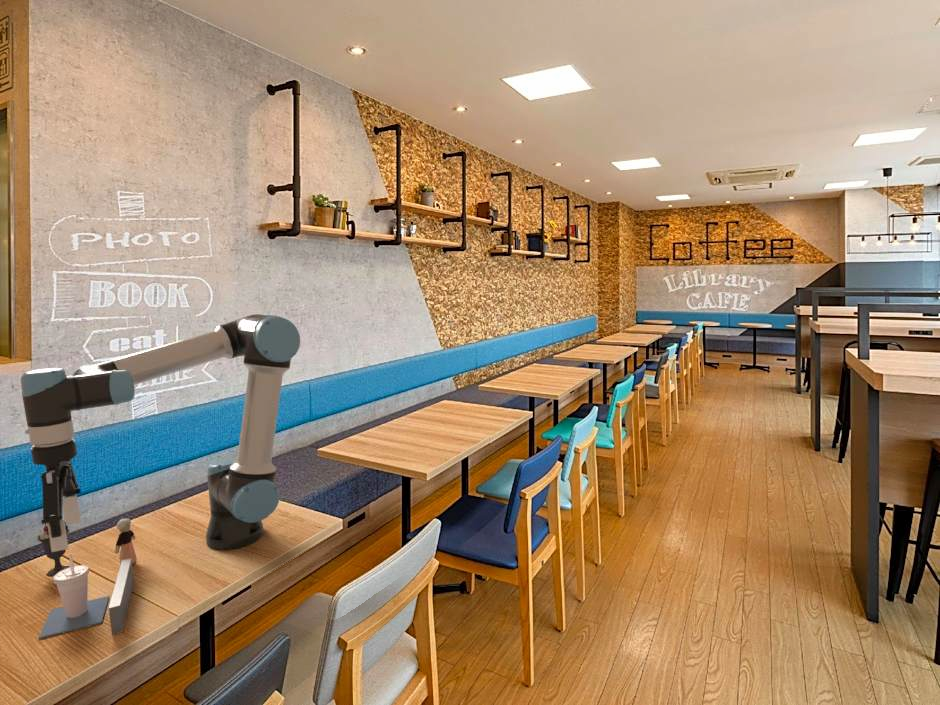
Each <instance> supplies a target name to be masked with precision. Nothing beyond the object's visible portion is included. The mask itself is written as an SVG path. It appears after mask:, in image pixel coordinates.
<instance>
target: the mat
mask: <svg viewBox="0 0 940 705" xmlns="http://www.w3.org/2000/svg"><path fill="white" fill-rule="evenodd" d="M109 599H110V596H109V595H107V596H102V597H99V598H95V599H94V598H93V599H90V600H87V612H86V613H84V614H83V615H81V616H78V617H75V618H68V617H67V614H66V611H65V608H64V606H60V607H56V608H51V610H50V612H49V613H48V615H47V618H46V621H45V623H44V626H43V627H42V630H41V632H40V634H39V636H38V640H42V639H45V637H46V638H49V636H50V637H53V636H52V635H54V636H57V635H56V634H58V635H61V634H60V633H62V634H64V633H63V632H66V633H69V632H68V631H70V632H72V631H71V630H74V631H78V630H81V629H80V628H82V629H85V627H86V628H89V627H88V626H90V627H93V625H94V626H97V625H96V624H98V625H101V624H100V623H102V624H103V621H104V618H105V614H106V611H105V610H107V606H108V603H109ZM103 617H104V618H103ZM77 629H78V630H77ZM41 638H42V639H41Z"/></svg>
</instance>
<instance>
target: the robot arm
mask: <svg viewBox="0 0 940 705" xmlns="http://www.w3.org/2000/svg"><path fill="white" fill-rule="evenodd" d="M300 346H301V336H300V332H299V330H298V328H297V327H296V325H295V324H294V323H293V322H292V321H290V320H289V319H288V318H284V317H282V316H279V315H271V314H269V315H268V314H258V313H257V314H251V315H250V314H249V315H247V316H244V317H241V318H239V319H235V320H232V321H229V322H227V323H224V324H223V323H222V324H219V325H217V326H216V327H215V329H214V330H213V331H209V332H205V333H202V334H198V335H195V336H190V337H188V338H184V339H181V340H177V341H174V342H170V343H166V344H163V345H160V346H159V345H158V346H157V347H156V346H155V347H152V348H149V349H146V350H142V351H139V352H135V353H131V354H128V355H125V356H121V357H118V358H114V359H111V360H107V361H104V362H103V361H102V362H101V363H100V362H99V363H96V364H94V363H93V364H90V363H89V364H85V365H82V366H79V367H78V368H76V370H75V371H74V372H73V373H72V375H67V373H66V371H65V369H63V368H60V367H52V368H51V367H50V368H41V369H34V370H33V369H32V370H30V371H26V372H24V373H23V374H22V375H21V377H20V383H21V384H20V386H21V396H22V403H23V409H24V414H25V418H26V424H27V429H25V430H24V434H25V435H29V437H28V438H29V444H31V445H32V446H31V448H30V453H31V459H32V462H33V464H35V465H36V466H37V465H38V466H42V465H43V466H45V471H44V472H43V473H41V477H40V478H41V483H42V484H41V485H42V516H43V517H42V519H41V521H40V522H41V525H45V523H46V526H48V532H49V539H50V545H51V551H52V552H56V551H60V550H65V549H66V550H68V549H69V541H68V534H66V528H65V523H66V526H67V525H68V526H71V525H76V524H81V522H82V519H81V514H80V507H79V500H78V494H81V493H82V490H81V488H79V484H78V480H77V478H76V474H75V471H74V467H73V464H72V459H74V458H75V457H76V456H77V454H78V452H77V445H76V440H75V439H73V438H74V437H75V429H74V422H73V416H72V412H74V411H81V410H87V409H92V408H93V409H94V408H100V407H107V406H113V405H114V406H118V405H121V404H124V403H130V402H131V401H133V400H134V397H135V385H136V386H137V385H139V384H142V383H143V384H144V383H145V382H149V381H151V380H155V379H157V378H163V377H165V376H168V375H172V374H174V373H177V372H182V371H184V370H187V369H190V368H193V367H197V366H200V365H203V364H206V363H210V362H213V361H216V360H219V359H223V358H225V359H227V360H232V359H234V358H238V357H243V365H244V366H245V368H246V369H247V370H248V375H247V383H246V389H245V395H244V396H245V397H244V406H243V412H242V413H243V414H242V421H241V427H240V433H239V434H240V435H239V443H238V450H237V456H234V457H227V458H223V459H219V460H216V461H213V462H211V463H210V464H209V465H208V466H207V468H206V478H207V487H208V488H207V489H208V497H209V498H208V499H209V509H210V518H209V522H208V526H207V531H206V534H205V539H206V540H205V541H206V545H207V546H208V547H210V548H211V549H214V550H232V549H233V550H234V549H238V548H242V547H245V546H248V545H251V544H253V543H254V542H256V541H258V540H259V539H260V538H262V536H263V535H264V524H263V520H265V519H267V518H268V517H269V516H271V514H273V513H274V511H275V510H276V509H277V507H278V505H279V502H280V498H281V497H280V496H281V495H280V490H279V488H278V486H277V484H275V483H276V482H275V480H276V474H277V467H276V466H275V465H274V464H273V462H272V458H273V451H274V444H275V443H274V442H275V436H276V430H277V428H276V427H277V420H278V411H279V406H280V397H281V390H282V382H283V377H284V374H285V373H286V372H288V371H289V370H290V369H291V368H290V367H291V361H292V358H293V357H294V356H295V355H296V354H297V353H298V352H299V349H300ZM63 514H64V517H63Z"/></svg>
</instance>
